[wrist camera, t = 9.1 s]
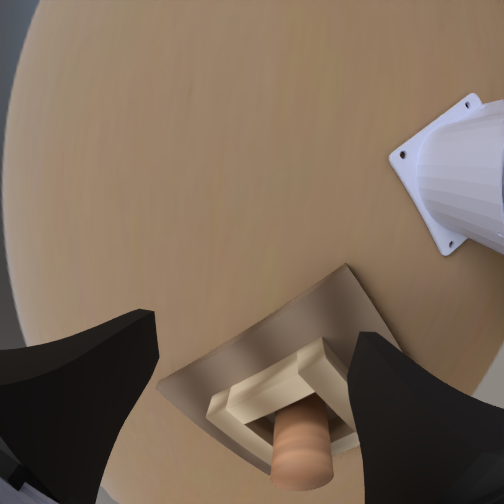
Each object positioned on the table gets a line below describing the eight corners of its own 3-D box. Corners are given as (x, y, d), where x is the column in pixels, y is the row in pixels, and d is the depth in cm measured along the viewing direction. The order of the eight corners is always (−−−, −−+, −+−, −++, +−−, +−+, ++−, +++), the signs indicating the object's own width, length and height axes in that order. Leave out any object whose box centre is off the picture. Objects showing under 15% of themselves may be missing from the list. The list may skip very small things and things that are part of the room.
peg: (282, 386, 20) (279, 461, 13) (332, 393, 20) (343, 465, 13) (270, 418, 21) (264, 487, 15) (316, 425, 21) (320, 492, 14)
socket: (345, 263, 18) (358, 283, 15) (426, 394, 21) (439, 420, 17) (159, 381, 23) (144, 407, 19) (269, 468, 25) (267, 493, 22)
